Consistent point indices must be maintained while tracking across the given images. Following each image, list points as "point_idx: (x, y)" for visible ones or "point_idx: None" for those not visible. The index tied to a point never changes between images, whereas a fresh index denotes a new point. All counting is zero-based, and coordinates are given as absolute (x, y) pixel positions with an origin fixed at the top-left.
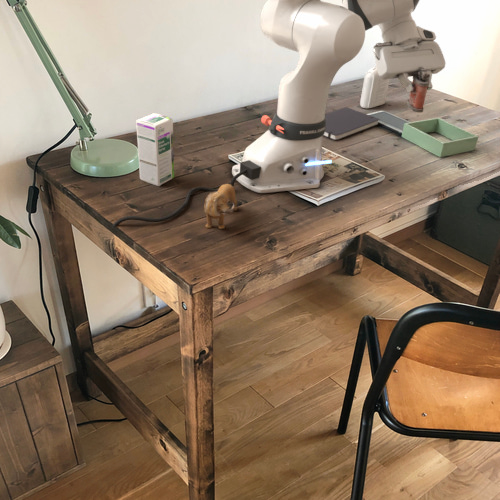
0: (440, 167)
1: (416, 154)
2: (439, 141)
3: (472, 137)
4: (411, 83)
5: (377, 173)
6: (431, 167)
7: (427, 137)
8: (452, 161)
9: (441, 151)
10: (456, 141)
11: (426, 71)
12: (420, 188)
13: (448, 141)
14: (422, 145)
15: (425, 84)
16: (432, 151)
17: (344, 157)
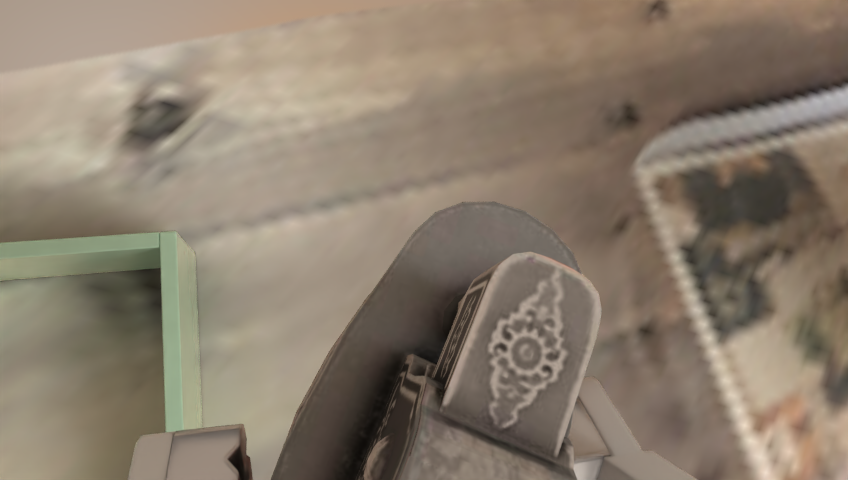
0: (293, 146)
1: (310, 334)
2: (177, 271)
3: None
4: (609, 450)
5: (653, 197)
6: (344, 163)
7: (185, 389)
8: (159, 185)
9: (187, 245)
10: (37, 240)
11: (444, 401)
12: (542, 13)
13: (110, 248)
14: (200, 414)
15: (509, 214)
16: (196, 319)
17: (732, 411)
